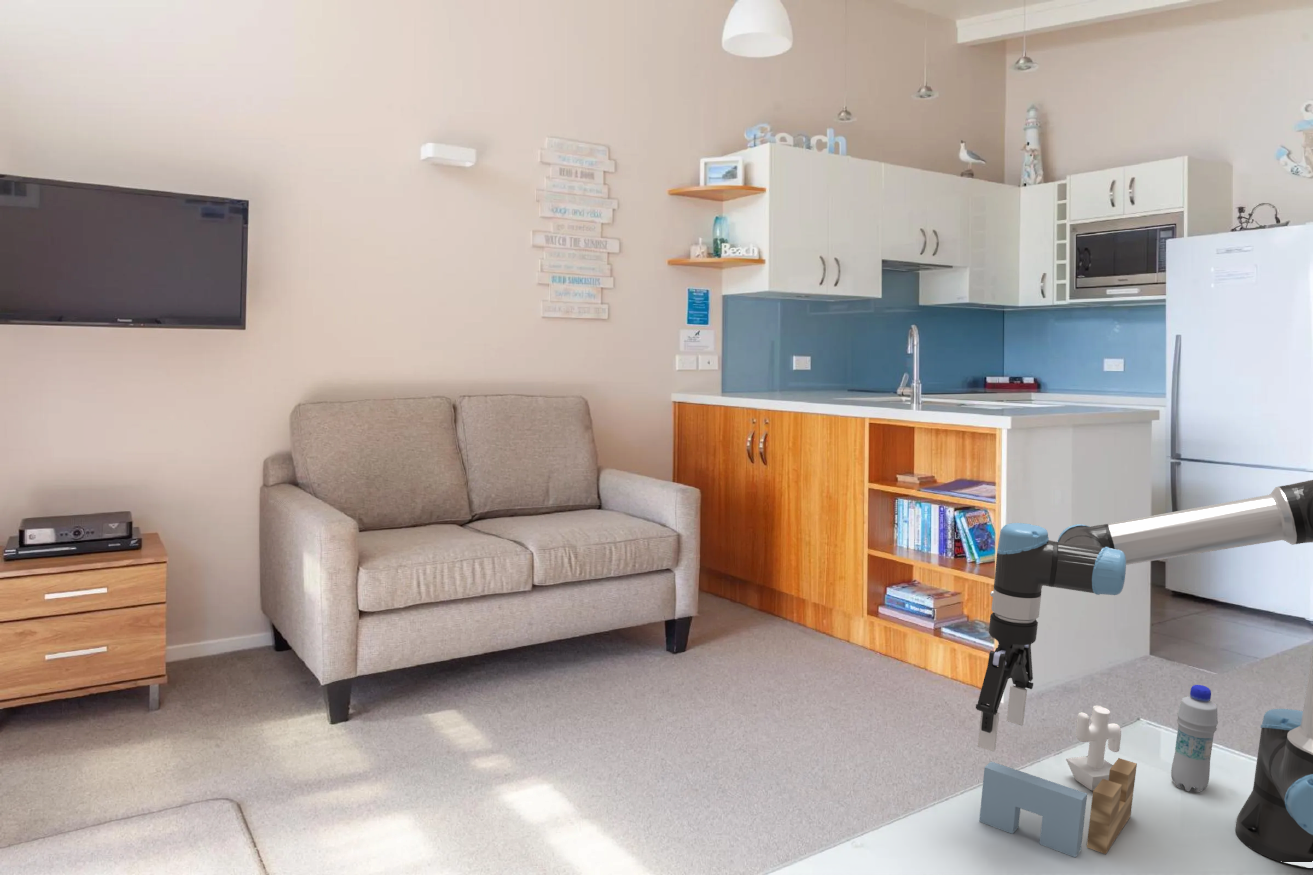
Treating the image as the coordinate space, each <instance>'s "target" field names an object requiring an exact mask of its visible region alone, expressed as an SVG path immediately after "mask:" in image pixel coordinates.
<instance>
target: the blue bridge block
mask: <svg viewBox="0 0 1313 875" xmlns="http://www.w3.org/2000/svg"><path fill="white" fill-rule="evenodd" d="M983 770H984V771H983V779H982V788H981V789H982V790H981V799H980V801H981V802H980V810H979V811H980V812H979V820H978V821H979V822H980V823H982V824H985V825H987V826H991V827H993V828H995V829H999V830H1001V831H1004V832H1006V833H1009V834H1011V835H1013V834H1014V833H1015V832H1016V831H1017V829H1018V828H1019V825H1020V819H1021V818H1020V817H1021V810H1024V811H1026V812H1030V813H1033V814H1036V815H1038V816H1041V817H1042V818H1041V827H1040V836H1039V845H1041V846H1044V847H1046V848H1049V849H1052V850H1054V851H1057V852H1060V853H1062V854H1065V855H1067V856H1070V857H1073V858H1076V857H1077V856H1078V855H1079V853H1080V852H1081V850H1082V844H1083V843H1082V842H1083V834H1084V827H1085V818H1086V817H1085V816H1086V806H1087V799H1088V793H1087V792H1084V791H1081V790H1079V789H1078V790H1077V789H1075V788H1071V787H1070V786H1066V785H1064V784H1063V785H1062V784H1060V783H1058V782H1057V783H1056V782H1053V781H1052V780H1048V779H1045V778H1041V777H1039V776H1036V775H1033V774H1030V773H1027V772H1023V771H1021V770H1018V769H1015V768H1012V767H1010V766H1006V765H1003V764H1000V763H997V762H995V761H989V763H987V764H986V765H985V766H984V768H983Z"/></svg>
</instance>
